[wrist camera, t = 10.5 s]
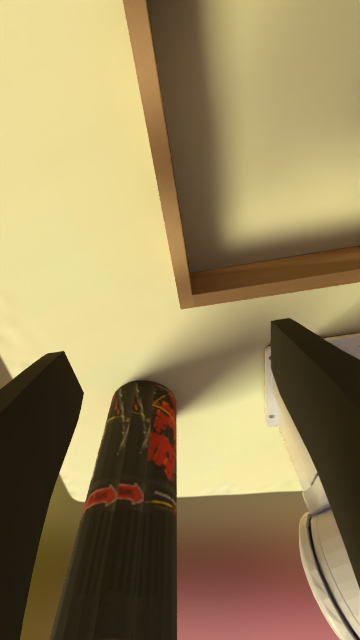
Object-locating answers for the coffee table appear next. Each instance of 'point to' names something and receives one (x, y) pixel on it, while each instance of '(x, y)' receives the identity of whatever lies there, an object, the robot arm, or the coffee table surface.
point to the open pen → (190, 286)
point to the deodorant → (127, 527)
